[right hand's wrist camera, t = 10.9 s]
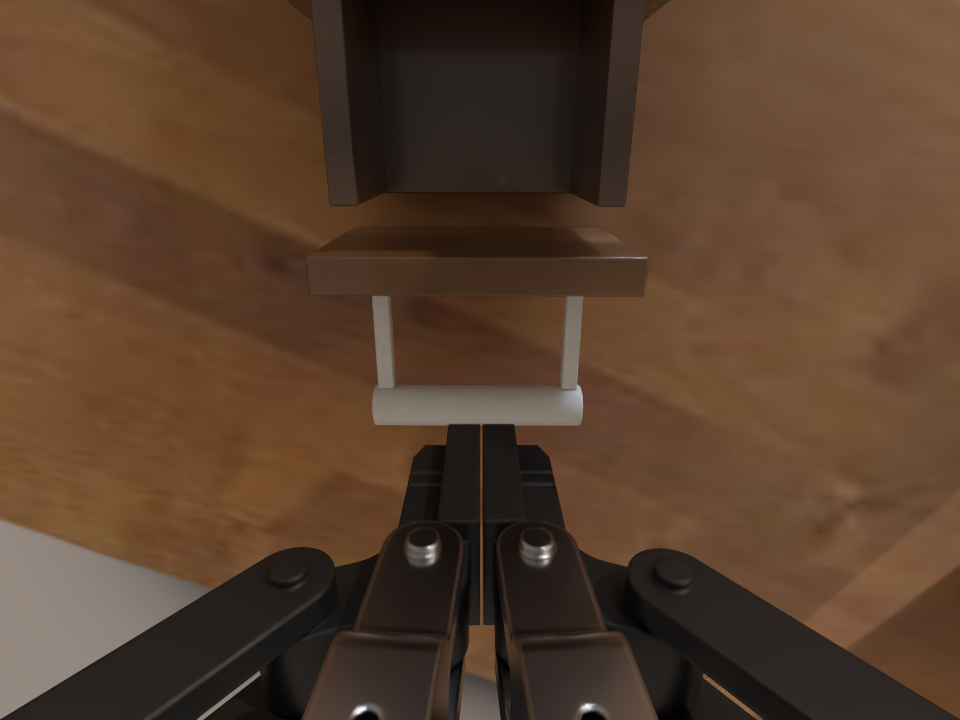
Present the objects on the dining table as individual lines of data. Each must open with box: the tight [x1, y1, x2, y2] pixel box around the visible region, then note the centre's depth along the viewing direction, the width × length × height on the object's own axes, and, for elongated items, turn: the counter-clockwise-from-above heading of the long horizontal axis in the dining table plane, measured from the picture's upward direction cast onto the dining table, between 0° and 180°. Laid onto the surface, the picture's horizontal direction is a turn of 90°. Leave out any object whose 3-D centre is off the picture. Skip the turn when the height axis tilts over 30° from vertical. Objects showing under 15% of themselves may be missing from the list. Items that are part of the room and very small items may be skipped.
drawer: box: [306, 0, 649, 426], centre depth 17 cm, size 25×10×7 cm, turn 0°
